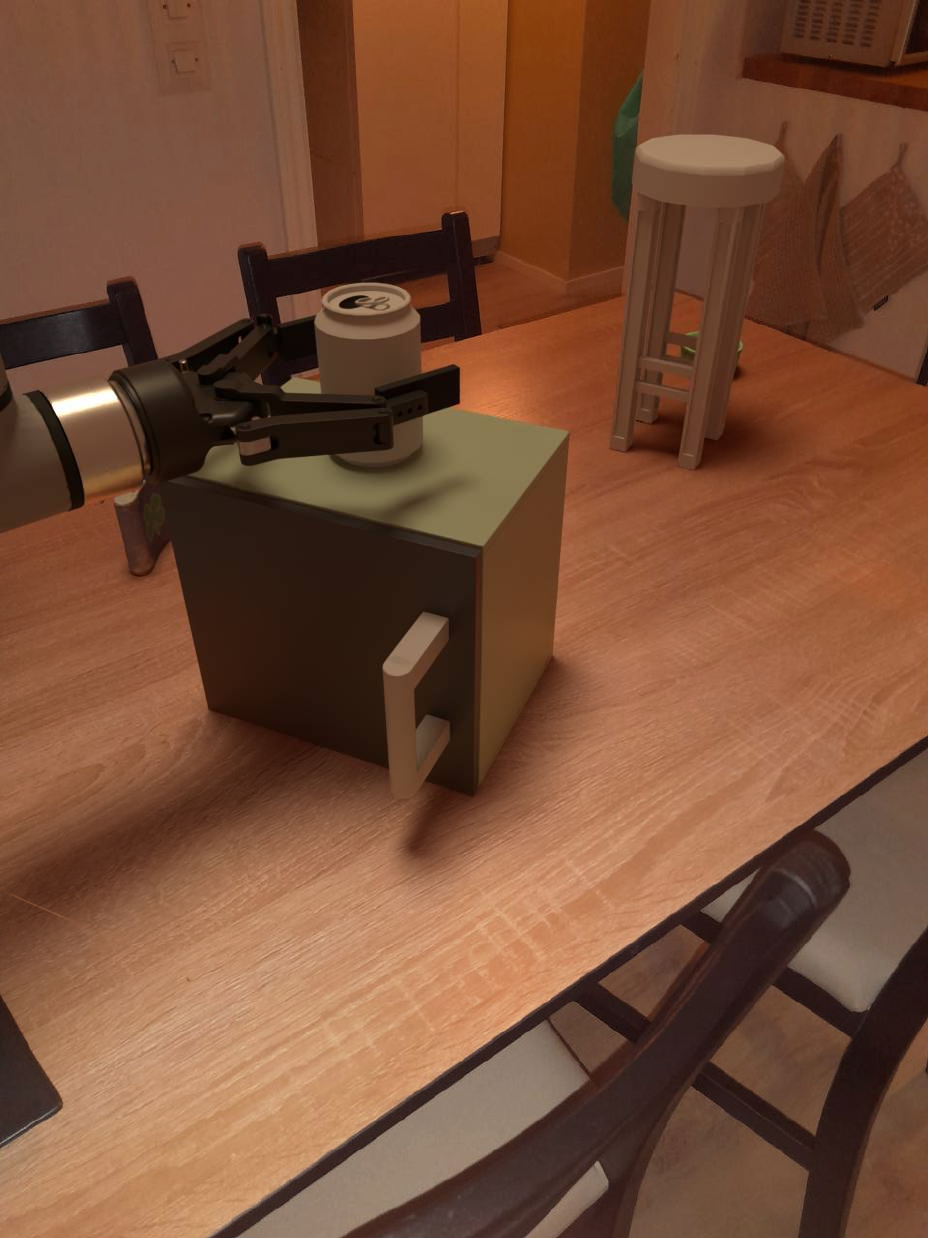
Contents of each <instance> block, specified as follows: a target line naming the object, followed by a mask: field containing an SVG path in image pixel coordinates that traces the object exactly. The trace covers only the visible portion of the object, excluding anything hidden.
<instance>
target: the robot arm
mask: <svg viewBox="0 0 928 1238" xmlns="http://www.w3.org/2000/svg"><path fill="white" fill-rule="evenodd" d="M316 315H317V314H314V315H313V314H312V315H310V316H306V317H301V318H298V319H294V320H289V321H285V322H282V323H281V322H280V323H277V324H276V325H275V327H274V322H273V316H272V314H271V313H270V314H269V313H259V314H256V315H255V317H256V324H257V325H256V324H255V320H254V319H253V318H249V317H244V318H241V319H238V320H237V321H235V322H234V323H231V324H229V325H228V326H226V327H224V328H222V329H221V330H219V331H217V332H215V333H213V334H211V335H209V336H207V337H206V338H204V339H202V340H200V341H198V342H197V343H195V344H193V345H191V346H189V347H187V348H186V349H184V350H182V351H179V352H176V353H173V354H170V355H167V356H164V357H160V358H158V359H153V360H149V361H146V362H141V363H138V364H134V365H130V366H127V367H123V368H118V369H115V370H113V371H111V372H112V373H111V375H109V377H108V379H107V378H106V377H105V376H103V375H102V374H98V373H95V374H91V375H87V376H84V377H80V378H76V379H72V380H68V381H65V382H61V383H58V384H54V385H49V386H46V387H42V388H39V389H37V390H36V389H35V390H32V391H29V392H24V393H22V394H16V395H14V392H13V391H12V387H11V384H10V381H9V378H8V374H7V370H6V367H5V364H4V360H3V357H2V354H1V352H0V535H1V534H4V533H7V532H9V531H12V530H16V529H20V528H22V527H25V526H28V525H31V524H34V523H37V522H40V521H42V520H46V519H49V518H52V517H54V516H57V515H61V514H64V513H67V512H72V511H75V510H78V509H81V508H83V507H86V506H90V505H93V506H100V505H103V504H104V503H105V501H107V500H109V499H114V498H115V497H116V496H119V495H123V494H126V493H129V492H132V491H136V490H139V489H140V488H141V486H142V485H143V481H144V480H145V481H146V482H148V483H152V484H154V485H157V484H160V483H164V482H167V481H170V480H173V479H176V478H179V477H183V476H186V475H189V474H192V473H195V472H198V471H199V470H200V469H201V468H202V467H203V465H204V463H205V460H206V456H207V454H208V452H209V451H210V449H211V448H212V447H215V446H222V445H234V444H235V445H236V446H237V447H238V449H239V455H240V461H241V464H242V465H245V466H253V465H257V464H261V463H265V462H269V461H273V460H277V459H285V458H297V457H309V456H322V455H334V454H346V453H358V452H370V451H383V450H390V449H392V448H393V447H394V433H393V426H395V425H398V424H401V423H404V422H407V421H410V420H413V419H416V418H419V417H422V416H425V415H427V414H430V413H433V412H436V411H440V410H443V409H446V408H453V407H455V406H458V405H460V404H461V367H460V366H459V365H457V364H454V363H452V364H448V365H445V366H442V367H439V368H436V369H432V370H429V371H426V372H422V374H419V375H415V376H412V377H409V378H405V379H402V380H399V381H395V382H392V383H389V384H385V385H382V386H379V387H375V388H374V391H375V395H346V394H313V393H286V392H284V391H283V390H282V388H281V386H279V385H276V384H262V383H260V382H257V381H256V380H257V379H258V378H259V377H260V375H262V373H264V371H265V370H266V369H267V368H269V366H270V365H271V364H272V363H273V362H274V361H275V360H276V359H277V357H278V355H277V353H279V359H280V360H281V361H283V362H284V363H287V362H291V361H295V360H299V359H302V358H306V357H310V356H313V355H317V346H316V335H315V325H314V321H315V318H316ZM269 411H270V413H269ZM269 416H270V417H269Z"/></svg>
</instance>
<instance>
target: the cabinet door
mask: <svg viewBox="0 0 928 1238" xmlns="http://www.w3.org/2000/svg"><path fill="white" fill-rule="evenodd" d="M159 488H160V492H161V497H162V501H163V506H164V510H165V515H166V519H167V524H168V529H169V533H170V538H171V541H170V542H171V546H172V550H173V551H172V552H173V555H174V560H175V565H176V569H177V573H178V578H179V584H180V586H181V591H182V596H183V600H184V605H185V609H186V615H187V618H188V623H189V627H190V632H191V633H190V634H191V636H192V642H193V646H194V651H195V655H196V661H197V664H198V668H199V673H200V677H201V683H202V687H203V692H204V696H205V700H206V701H205V702H206V705H207V709H209V710H211V711H215V712H218V713H220V714H224V715H227V716H229V717H233V718H237V719H239V720H241V721H245V722H247V723H250V724H254V725H256V726H260V727H262V728H265V729H269V730H272V731H275V732H278V733H280V734H284V735H287V736H290V737H293V738H296V739H299V740H302V741H305V742H308V743H311V744H314V745H317V746H319V747H323V748H326V749H330V750H332V751H335V752H339V753H340V754H345V755H347V756H350V757H354V758H356V759H360V760H363V761H365V762H368V763H371V764H374V765H377V766H381V767H383V768H387V769H388V770H389V784H390V786H389V787H390V793H391V794H392V796H393V797H395V798H396V799H398V800H409V799H412V798H414V797H415V796H416V795H417V793H418V792H419V790H420V788H421V787H422V785H423V783H424V782H429V783H432V784H434V785H437V786H440V787H444V788H447V789H449V790H453V791H456V792H458V793H462V794H464V795H468V796H470V797H474V796H475V795H476V792H477V790H478V789H479V786H478V755H479V695H480V635H481V575H482V550H480V549H476V548H472V547H468V546H463V545H459V544H455V543H451V542H447V541H443V540H439V539H435V538H431V537H427V536H422V535H418V534H414V533H410V532H406V531H402V530H398V529H394V528H390V527H386V526H382V525H377V524H373V523H369V522H365V521H361V520H357V519H353V518H349V517H345V516H341V515H337V514H332V513H328V512H324V511H320V510H316V509H312V508H308V507H304V506H300V505H296V504H292V503H287V502H283V501H279V500H275V499H271V498H267V497H263V496H259V495H255V494H251V493H247V492H242V491H238V490H234V489H230V488H226V487H222V486H218V485H214V484H210V483H206V482H202V481H197V480H193V479H189V478H185V477H179V478H176V479H173V480H170V481H167V482H164V483H160V484H159Z"/></svg>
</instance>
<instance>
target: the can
mask: <svg viewBox="0 0 928 1238" xmlns="http://www.w3.org/2000/svg"><path fill="white" fill-rule="evenodd" d="M411 299H412V295H410V293H409V292H408V291H407V290H406V289H403V288H401V287H400V286H398V285H397V286H396V285H392V284H390V283H389V284H388V283H382V282H381V283H380V282H357V283H348V284H345V285H341V286H337V287H335V288H333V289H330V290H329V291H327V292H326V293H325V294H324V295H322V298H321V300H320V302H321V305H322V308H321V309H320V310H319V311H318V313H317V314H315V315H316V318H315V321H314V325H315V335H316V346H317V354H316V356H317V365H318V376H319V382H320V387H321V394H346V395H375V391H374V388H375V387H379V386H382V385H385V384H389V383H392V382H395V381H399V380H402V379H405V378H409V377H412V376H415V375H419V374H422V373H423V371H422V336H421V335H422V334H421V333H422V332H421V315H420V314H419V312H418V311H417V310H416V309H415V308H414V307H413V305H411V301H412V300H411ZM393 433H394V447H393V448H392V449H390V450H383V451H370V452H358V453H346V454H336V455H337V456H339V457H340V458H341V459H342V460H344V461H345V462H347V463H349V464H352V465H355V466H360V467H367V468H380V467H386V466H392V465H394V464H397V463H400V462H402V461H404V460H406V459H407V458H409V457H410V455H411V454H412V453H413V452H415V451H416V450H417V449H418V448H419V447H420V446H421V444H422V443H423V416H422V417H419V418H416V419H413V420H410V421H407V422H404V423H401V424H398V425H395V426H393Z"/></svg>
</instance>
